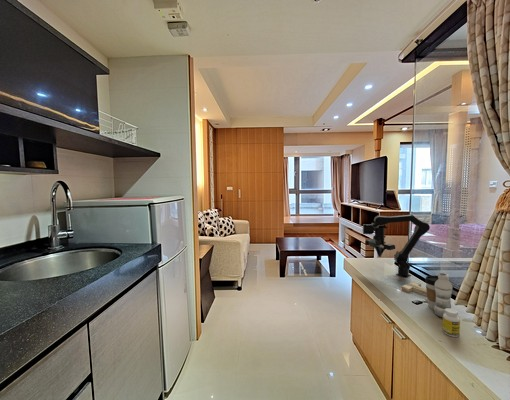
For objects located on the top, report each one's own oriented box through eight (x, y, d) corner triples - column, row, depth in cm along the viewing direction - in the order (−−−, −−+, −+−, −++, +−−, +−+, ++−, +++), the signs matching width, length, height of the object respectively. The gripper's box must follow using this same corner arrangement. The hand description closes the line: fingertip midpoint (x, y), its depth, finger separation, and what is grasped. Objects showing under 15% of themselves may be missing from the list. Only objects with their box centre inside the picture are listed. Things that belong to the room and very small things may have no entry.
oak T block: (414, 284, 140) (414, 281, 140) (436, 292, 129) (436, 289, 129) (401, 289, 135) (401, 286, 134) (424, 298, 124) (424, 294, 124)
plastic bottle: (430, 312, 111) (430, 272, 110) (444, 312, 111) (445, 271, 110) (440, 320, 105) (441, 277, 103) (456, 320, 104) (456, 277, 103)
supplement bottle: (452, 338, 93) (453, 315, 92) (439, 330, 98) (439, 308, 97) (463, 336, 94) (463, 312, 93) (449, 328, 99) (449, 306, 98)
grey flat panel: (390, 276, 154) (390, 275, 154) (442, 294, 128) (442, 293, 128) (376, 281, 148) (376, 280, 148) (427, 300, 122) (427, 300, 122)
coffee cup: (450, 312, 111) (450, 281, 110) (430, 310, 113) (430, 280, 112) (440, 303, 119) (440, 274, 118) (421, 302, 121) (421, 274, 120)
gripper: (359, 233, 162) (360, 255, 163) (384, 238, 145) (384, 262, 146) (370, 231, 167) (370, 252, 168) (395, 236, 150) (395, 259, 151)
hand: (379, 256), depth 158 cm, fingers closed
